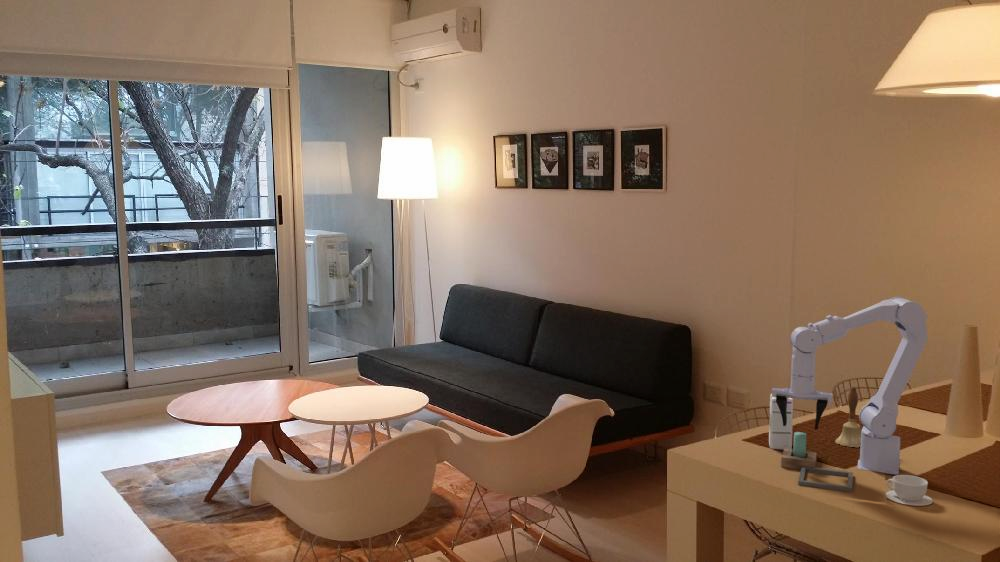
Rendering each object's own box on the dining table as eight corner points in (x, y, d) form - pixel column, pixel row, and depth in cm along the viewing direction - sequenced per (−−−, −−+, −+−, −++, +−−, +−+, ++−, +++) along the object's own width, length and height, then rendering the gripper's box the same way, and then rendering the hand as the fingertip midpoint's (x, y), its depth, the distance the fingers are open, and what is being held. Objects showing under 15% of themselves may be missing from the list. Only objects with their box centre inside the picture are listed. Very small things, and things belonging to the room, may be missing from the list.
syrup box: (792, 451, 240) (794, 399, 238) (769, 450, 241) (771, 398, 239) (789, 445, 245) (792, 394, 243) (767, 443, 246) (769, 392, 245)
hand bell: (829, 443, 247) (832, 387, 246) (844, 437, 253) (847, 382, 251) (858, 450, 241) (861, 392, 239) (872, 444, 247) (875, 388, 245)
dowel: (805, 463, 229) (806, 432, 228) (804, 466, 226) (806, 436, 225) (793, 461, 230) (794, 431, 229) (792, 465, 227) (793, 434, 226)
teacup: (938, 499, 206) (939, 479, 205) (924, 511, 198) (925, 491, 198) (893, 488, 212) (895, 469, 212) (878, 500, 205) (880, 480, 204)
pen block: (816, 463, 230) (816, 452, 230) (814, 472, 223) (814, 461, 222) (783, 459, 233) (784, 448, 233) (781, 468, 226) (781, 457, 225)
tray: (852, 477, 219) (853, 472, 219) (851, 493, 208) (852, 488, 208) (801, 471, 224) (801, 465, 224) (798, 486, 213) (798, 481, 213)
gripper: (834, 373, 226) (831, 425, 228) (774, 368, 231) (772, 419, 233) (832, 379, 219) (830, 433, 221) (771, 374, 225) (769, 426, 227)
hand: (800, 426), depth 227 cm, fingers open, 7 cm apart
